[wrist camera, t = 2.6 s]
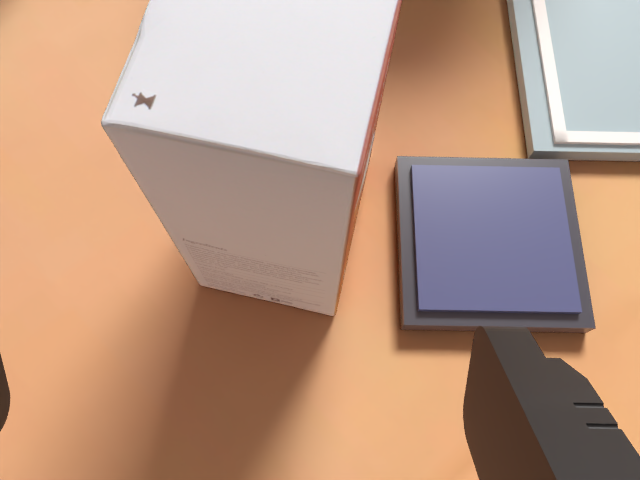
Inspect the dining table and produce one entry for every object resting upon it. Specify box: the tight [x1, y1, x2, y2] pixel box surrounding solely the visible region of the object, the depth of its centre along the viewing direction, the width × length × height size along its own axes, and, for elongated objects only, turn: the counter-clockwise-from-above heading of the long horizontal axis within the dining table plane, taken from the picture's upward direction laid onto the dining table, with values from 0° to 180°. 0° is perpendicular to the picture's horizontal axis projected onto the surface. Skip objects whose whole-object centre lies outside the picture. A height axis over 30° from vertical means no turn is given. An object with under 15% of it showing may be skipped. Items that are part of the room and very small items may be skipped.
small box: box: [101, 0, 402, 316], centre depth 20 cm, size 8×6×13 cm
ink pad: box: [395, 156, 595, 333], centre depth 25 cm, size 8×8×1 cm
